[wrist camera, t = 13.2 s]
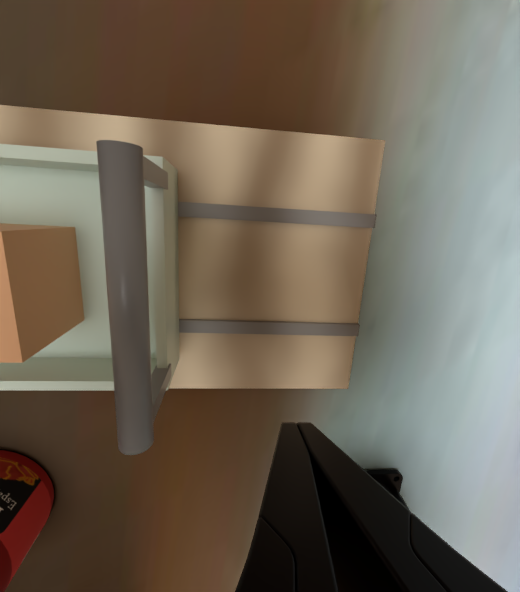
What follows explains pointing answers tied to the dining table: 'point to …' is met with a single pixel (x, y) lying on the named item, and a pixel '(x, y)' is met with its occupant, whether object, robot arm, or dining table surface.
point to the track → (250, 241)
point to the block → (37, 288)
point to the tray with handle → (105, 273)
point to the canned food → (20, 510)
